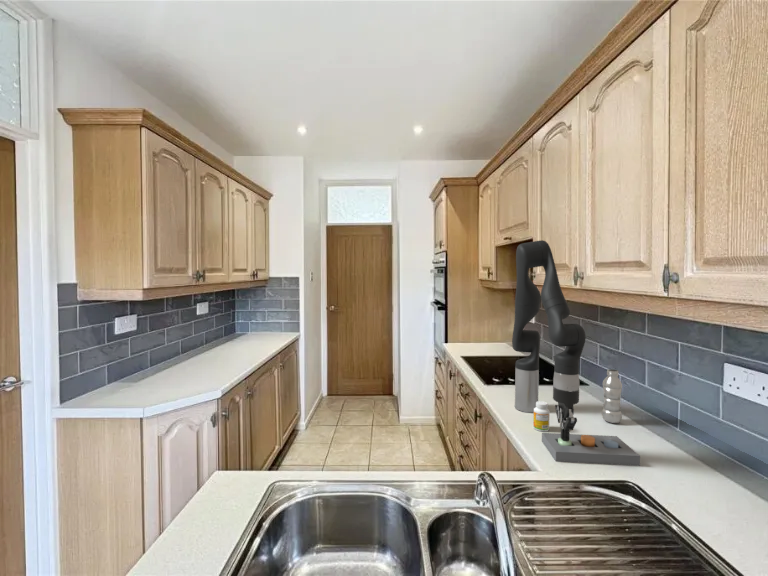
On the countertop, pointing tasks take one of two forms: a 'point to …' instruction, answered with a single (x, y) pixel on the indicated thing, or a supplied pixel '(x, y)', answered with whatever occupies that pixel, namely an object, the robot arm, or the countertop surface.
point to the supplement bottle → (541, 416)
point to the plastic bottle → (612, 397)
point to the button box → (590, 450)
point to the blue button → (610, 444)
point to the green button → (564, 442)
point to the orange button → (587, 441)
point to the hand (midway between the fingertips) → (564, 439)
